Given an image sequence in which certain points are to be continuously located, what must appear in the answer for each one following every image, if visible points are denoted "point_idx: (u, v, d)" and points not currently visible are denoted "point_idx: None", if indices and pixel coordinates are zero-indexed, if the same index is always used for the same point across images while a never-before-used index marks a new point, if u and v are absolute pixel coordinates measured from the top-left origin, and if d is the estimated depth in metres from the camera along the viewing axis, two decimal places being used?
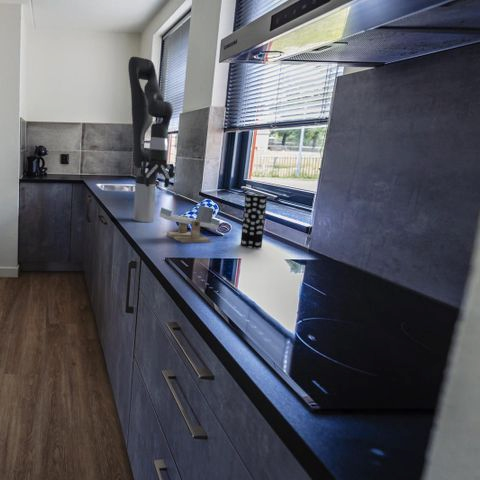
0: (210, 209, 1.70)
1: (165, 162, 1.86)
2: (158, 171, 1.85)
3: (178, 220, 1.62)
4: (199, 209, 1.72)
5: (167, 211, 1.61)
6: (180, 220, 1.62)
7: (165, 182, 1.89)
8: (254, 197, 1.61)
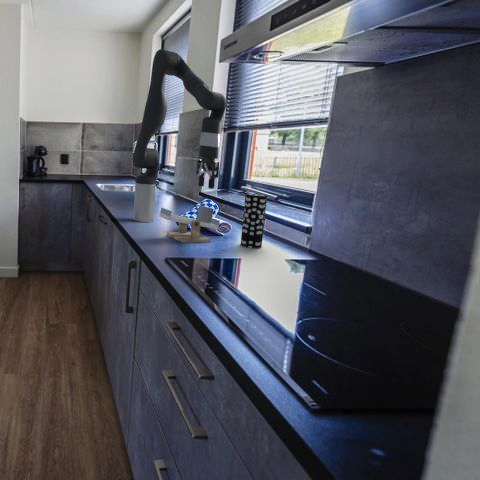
0: (210, 209, 1.70)
1: None
2: None
3: (178, 220, 1.62)
4: (199, 209, 1.72)
5: (167, 211, 1.61)
6: (180, 220, 1.62)
7: (201, 180, 1.73)
8: (254, 197, 1.61)
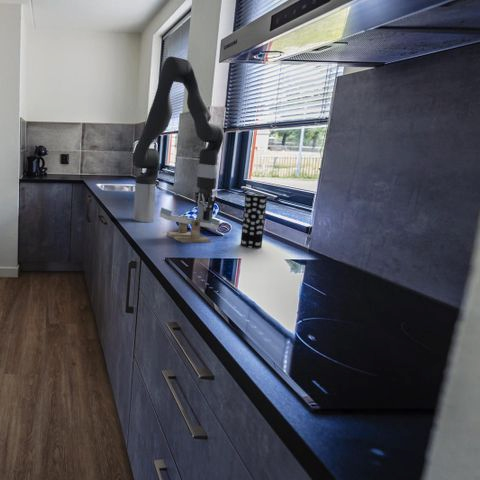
0: None
1: None
2: None
3: (178, 220, 1.62)
4: (199, 209, 1.72)
5: (167, 211, 1.61)
6: (180, 220, 1.62)
7: None
8: (254, 197, 1.61)
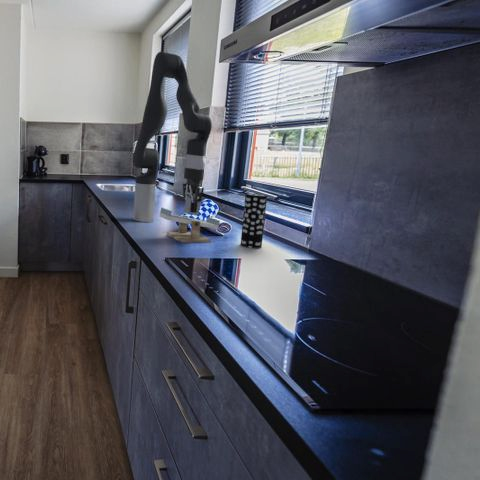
0: None
1: None
2: None
3: (178, 220, 1.62)
4: (187, 201, 1.68)
5: (167, 211, 1.61)
6: (180, 220, 1.62)
7: None
8: (254, 197, 1.61)
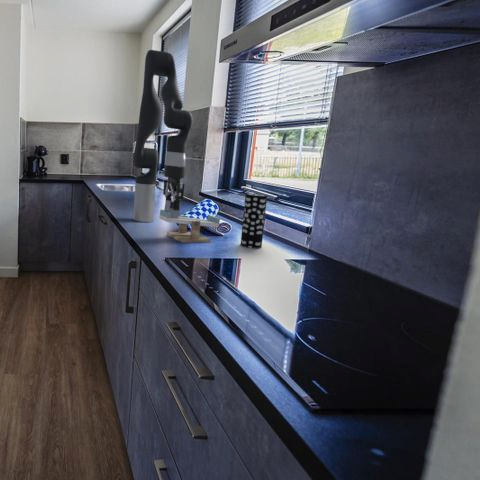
0: None
1: None
2: None
3: (178, 221, 1.62)
4: (166, 204, 1.64)
5: (166, 213, 1.61)
6: (180, 221, 1.62)
7: None
8: (254, 197, 1.61)
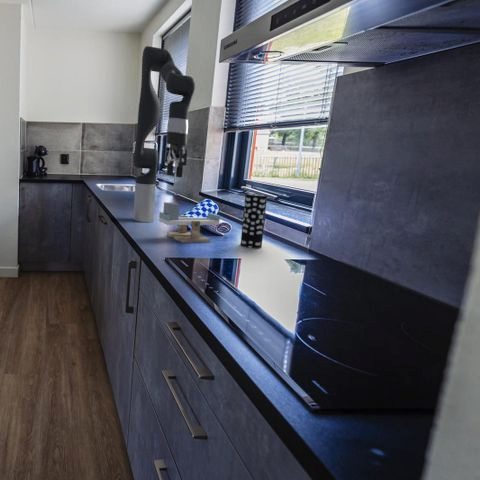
0: (175, 205, 1.62)
1: None
2: None
3: (178, 223, 1.62)
4: (164, 206, 1.64)
5: (165, 216, 1.61)
6: (180, 223, 1.62)
7: (170, 169, 1.64)
8: (254, 197, 1.61)
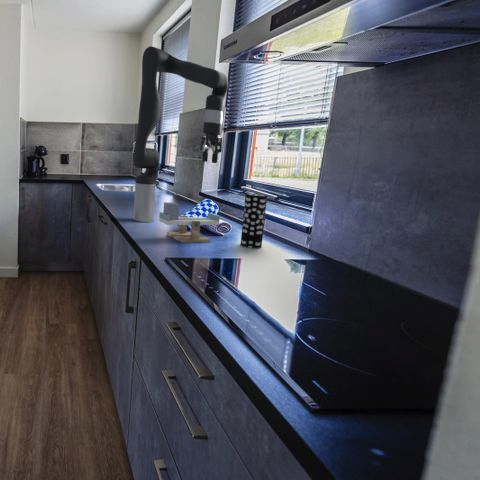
0: (175, 205, 1.62)
1: None
2: None
3: (178, 223, 1.62)
4: (164, 206, 1.64)
5: (165, 216, 1.61)
6: (180, 223, 1.62)
7: (205, 156, 1.82)
8: (254, 197, 1.61)
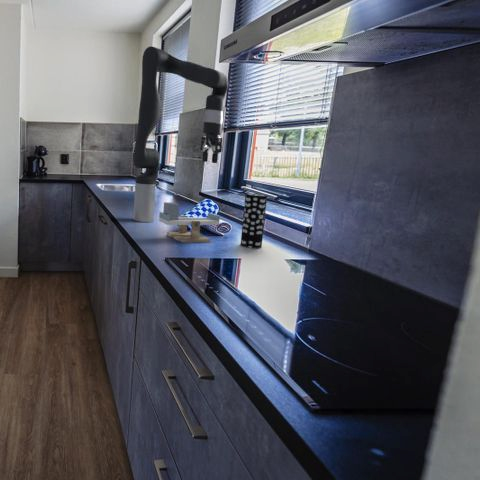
0: (175, 205, 1.62)
1: None
2: None
3: (178, 223, 1.62)
4: (164, 206, 1.64)
5: (165, 216, 1.61)
6: (180, 223, 1.62)
7: (205, 156, 1.82)
8: (254, 197, 1.61)
